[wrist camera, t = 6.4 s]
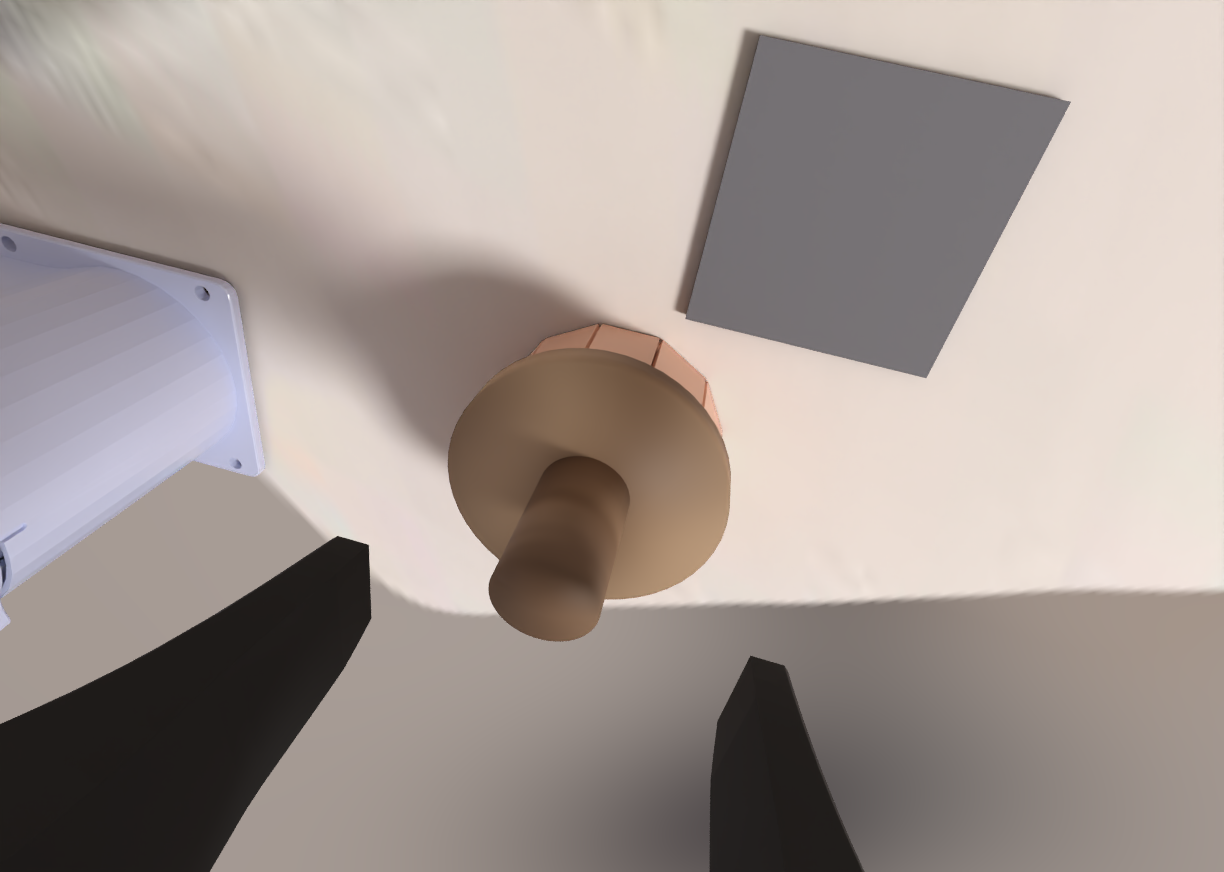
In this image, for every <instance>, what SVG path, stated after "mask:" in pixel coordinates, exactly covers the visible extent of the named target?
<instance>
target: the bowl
mask: <svg viewBox="0 0 1224 872" xmlns="http://www.w3.org/2000/svg"><path fill="white" fill-rule="evenodd" d="M659 339H660V338H657V337H653V336H649V335H645V334H641V333H637V332H633V331H629V330H625V329H621V328H617V327H613V326H609V325H605V324H602V325H601V327H599V324H596V325H592V326H589V327H585V328H581V329H578V330H574V331H570V332H567V333H563V334H559V335H556V336H552V337H549V338H546V339H545V340H544V341H543V340H542V341H541V343H540V344H539V345H538V346H537V347H536V348H535V349H534V351H533V352H532V353H531V354H530V355H534V354H537V353H541V352H545V351H549V350H556V349H564V348H590V349H598V350H606V351H610V352H614V353H618V354H622V355H626V356H629V357H632V358H634V359H637V360H639V361H642V362H645V363H647V364H649V365H651V366H652V367H654V368H656V369H658V370H660V371H662V372H664V373H665V374H667V375H668V376H670V377H671V378H672V379H674V380H675V381H677V382H678V383H680V384H681V385H682V386H683V387H684V388H685V389H686V390H688V391H689V392H690V393H691V394H692V395H693V396H694V397H695V398H696V399H697V400H698V401H699V403H700V404H701V405H702V406H703V407H704V408H705V409H706V411H707V412H708V414H709V415H710V417H711V418H712V420H713V421H714V423H715V424H716V426H717V428H718V430H719V432H720V434H721V437H722V428H721V425H720V421H719V418H718V414H717V411H716V408H715V404H714V401H713V398H712V394H711V391H710V387H709V384H708V382H705V380H706V378H705V377H704V376H702V375H701V374H700V373H699V372H698V371H697V370H696V369H695V368H694V367H693V366H691V365H690V364H689V363H688V362H687V361H686V360H685V359H684V358H683V357H681V356H680V355H679V354H678V353H677V352H676V351H675V350H674V349H673V348H672V347H670V346H669V345H668V344H667V343H666V342H665V341H664V340H663V341H662V342H659ZM530 355H529V356H530Z"/></svg>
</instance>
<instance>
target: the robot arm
mask: <svg viewBox="0 0 1224 872" xmlns="http://www.w3.org/2000/svg"><path fill="white" fill-rule="evenodd" d="M204 288H206V290H207V291H208V292H209V295H210V296H209V295H208V294H207V293H206V292H205V290H204ZM191 461H197V462H201V463H204V464H208V465H211V466H215V467H219V468H222V469H226V470H230V471H233V472H237V473H241V474H244V475H248V476H257V475H259V474H260V473H261V472H262V471H263V470H264V469H265V461H264V455H263V449H262V443H261V437H260V430H259V424H258V418H257V412H256V406H255V400H254V393H253V387H252V381H251V375H250V369H249V362H248V356H247V350H246V344H245V338H244V331H243V325H242V319H241V313H240V307H239V300H238V296H237V293H236V291H235V289H234V288H233V286H232V285H230V284H229V283H228V282H227V281H224V280H222V279H218V278H215V277H211V276H207V275H203V274H199V273H195V272H191V271H187V270H183V269H179V268H175V267H171V266H167V265H163V264H159V263H155V262H152V261H148V260H144V259H140V258H136V257H132V256H128V255H124V254H120V253H116V252H112V251H108V250H104V249H100V248H96V247H92V246H89V245H85V244H81V243H77V242H73V241H69V240H65V239H61V238H57V237H53V236H49V235H45V234H41V233H37V232H33V231H29V230H26V229H22V228H18V227H14V226H10V225H6V224H2V223H0V630H1V629H3V628H4V627H5V626H6V625H8V624H9V623H10V618H9V616H8V615H7V613H6V612H5V611H4V608H3V606H2V603H1V598H2V597H4V596H5V595H6V594H8V593H9V592H11V591H12V590H14V589H15V588H16V587H18V586H19V585H20V584H22V583H23V582H25V581H26V580H27V579H29V578H30V577H32V576H33V575H34V574H36V573H37V572H38V571H40V570H41V569H43V568H44V567H45V566H47V565H48V564H50V563H51V562H52V561H54V560H55V559H56V558H58V557H59V556H61V555H62V554H64V553H65V552H66V551H68V550H69V549H70V548H72V547H73V546H75V545H76V544H77V543H79V542H80V541H82V540H83V539H84V538H86V537H87V536H88V535H90V534H91V533H93V532H94V531H95V530H97V529H98V528H100V527H101V526H102V525H104V524H105V523H106V522H108V521H109V520H111V519H112V518H113V517H115V516H116V515H118V514H119V513H120V512H122V511H123V510H125V509H126V508H127V507H129V506H130V505H132V504H133V503H134V502H136V501H137V500H138V499H140V498H141V497H143V496H144V495H145V494H147V493H148V492H150V491H151V490H152V489H154V488H155V487H157V486H158V485H159V484H161V483H162V482H163V481H165V480H166V479H167V478H169V477H170V476H172V475H173V474H175V473H176V472H177V471H179V470H180V469H182V468H183V467H184V466H186V465H187V464H188V463H190V462H191ZM370 598H371V597H370V568H369V545H367V544H364V543H360V542H357V541H353V540H350V539H346V538H343V537H339V536H337V537H335V538H333V539H332V540H330V541H328V542H327V543H325V544H324V545H322V546H321V547H319V548H318V549H316V550H315V551H313V552H312V553H310V554H309V555H307V556H306V557H304V558H303V559H301V560H300V561H298V562H297V563H295V564H294V565H292V566H291V567H289V568H287V569H286V570H284V571H283V572H281V573H280V574H278V575H277V576H275V577H274V578H272V579H271V580H269V581H267V582H266V583H264V584H263V585H262V586H260V587H258V588H257V589H255V590H254V591H252V592H250V593H249V594H247V595H245V596H244V597H242V598H241V599H239V600H238V601H236V602H234V603H233V604H231V605H230V606H228V607H226V608H224V609H223V610H221V611H220V612H218V613H217V614H215V615H213V616H211V617H210V618H208V619H206V620H205V621H203V622H201V623H199V624H198V625H196V626H194V627H192V628H191V629H189V630H187V631H186V632H184V633H182V634H181V635H179V636H177V637H175V638H173V639H172V640H170V641H168V642H166V643H165V644H163V645H161V646H160V647H158V648H156V649H154V650H152V651H150V652H149V653H147V654H145V655H143V656H141V657H139V658H137V659H135V660H134V661H132V662H130V663H128V664H126V665H124V666H122V667H120V668H118V669H116V670H114V671H113V672H111V673H109V674H106V675H104V676H102V677H101V678H98V679H96V680H94V681H92V682H91V683H88V684H86V685H84V686H82V687H80V688H78V689H76V690H74V691H72V692H70V693H68V694H66V695H63V696H61V697H59V698H57V699H55V700H53V701H51V702H48V703H46V704H44V705H42V706H40V707H37V708H35V709H33V710H31V711H29V712H27V713H24V714H22V715H20V716H18V717H15V718H13V719H11V720H8V721H6V722H4V723H2V724H0V872H210V870H211V869H212V867H213V865H214V863H215V862H216V860H217V858H218V857H219V855H220V853H221V851H222V850H223V848H224V846H225V845H226V843H227V841H228V839H229V838H230V836H231V834H232V833H233V831H234V829H235V828H236V826H237V824H238V822H239V821H240V819H241V817H242V816H243V814H244V812H245V811H246V809H247V807H248V806H249V804H250V803H251V801H252V800H253V798H254V797H255V795H256V794H257V792H258V791H259V789H260V788H261V786H262V785H263V783H264V782H265V780H266V779H267V777H268V776H269V775H270V773H271V772H272V770H273V769H274V767H275V766H276V765H277V763H278V762H279V760H280V759H281V758H282V756H283V755H284V753H285V752H286V751H287V749H288V748H289V746H290V745H291V743H292V742H293V741H294V739H295V738H296V736H297V735H298V733H299V732H300V731H301V729H302V728H303V726H304V725H305V724H306V722H307V721H308V719H309V718H310V717H311V715H312V713H313V712H314V711H315V710H316V708H317V706H318V705H319V704H320V702H321V701H322V699H323V698H324V697H325V695H326V694H327V692H328V691H329V689H330V688H331V686H332V685H333V684H334V682H335V681H336V679H337V678H338V676H339V675H340V674H341V672H342V671H343V669H344V667H345V666H346V664H347V662H348V660H349V659H350V657H351V655H352V653H353V651H354V650H355V648H356V646H357V644H358V642H359V640H360V639H361V637H362V635H363V633H364V631H365V629H366V627H367V625H368V623H369V622H370V620H371V599H370ZM710 872H864V870H863V868H862V866H861V863H860V861H859V859H858V857H857V854H856V852H855V850H854V848H853V845H852V843H851V841H850V839H849V836H848V834H847V832H846V829H845V827H844V825H843V823H842V820H841V818H840V815H839V813H838V811H837V808H836V805H835V803H834V800H833V798H832V795H831V793H830V790H829V788H828V785H827V783H826V780H825V778H824V775H823V773H822V770H821V767H820V765H819V762H818V760H817V757H816V754H815V751H814V749H813V746H812V743H811V740H810V737H809V734H808V732H807V729H806V726H805V723H804V720H803V717H802V714H801V712H800V708H799V705H798V702H797V699H796V696H795V693H794V690H793V687H792V683H791V680H790V677H789V674H788V671H787V669H786V668H785V666H784V665H780V664H777V663H773V662H770V661H766V660H763V659H760V658H756V657H753V656H750V658H749V660H748V662H747V664H746V666H745V668H744V670H743V672H742V674H741V676H740V678H739V680H738V682H737V684H736V686H735V688H734V690H733V692H732V694H731V696H730V698H729V700H728V702H727V704H726V706H725V708H724V710H723V711H722V713H721V715H720V718H719V719H718V722H717V730H716V738H715V746H714V754H713V764H712V773H711V790H710Z"/></svg>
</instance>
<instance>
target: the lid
mask: <svg viewBox="0 0 1224 872" xmlns="http://www.w3.org/2000/svg"><path fill="white" fill-rule="evenodd" d="M448 472H449V481H450V485H451V489H452V493H453V496H454V499H455V501H456V504H457V506H458V509H459V511H460V513H461V514H462V516H463V518H464V520H465V521H466V523H467V525H468V526H469V527H470V529H471V530H472V532H473V533H474V534H475V536H476V537H477V538H478V539H479V540H480V541H481V543H482V544H483V545H484V546H485V547H486V548H487V549H488V550H489V551H490V552H491V553H492V554H494V555H495V556H496V557H497V558H498V559H499V562H498V564H497V566H496V568H495V570H494V572H493V574H492V576H491V578H490V582H489V596H490V600H491V602H492V605H493V606H494V608H495V610H496V611H497V612H498V614H499V615H500V616H501V617H502V618H503V619H504V620H505V621H506V622H507V623H508V624H510V625H511V626H512V627H514V628H515V629H517V630H519V631H520V632H522V633H525V634H527V635H529V636H532V637H535V638H538V639H542V640H547V641H570V640H574V639H577V638H580V637H582V636H584V635H586V634H587V633H589V632H590V631H591V630H592V629H593V628H594V627H595V626H596V624H597V623H598V620H599V618H600V614H601V610H602V606H603V603H604V599H627V598H636V597H641V596H645V595H650V594H654V593H657V592H659V591H662V590H665V589H668V588H670V587H672V586H674V585H676V584H678V583H680V582H682V581H683V580H685V579H686V578H688V577H689V576H691V575H692V574H694V573H695V572H696V571H697V570H698V569H699V568H700V567H701V566H702V565H704V564H705V562H706V561H707V560H708V559H709V557H710V556H711V555H712V554H713V553H714V551H715V549H716V548H717V546H718V544H719V542H720V541H721V539H722V536H723V533H724V531H725V528H726V525H727V520H728V515H729V509H730V483H731V471H730V464H729V457H728V454H727V451H726V447H725V444H724V441H723V439H722V437H721V434H720V432H719V430H718V428H717V426H716V424H715V423H714V421H713V420H712V418H711V417H710V415H709V414H708V412H707V411H706V409H705V408H704V407H703V406H702V405H701V404H700V403H699V401H698V400H697V399H696V398H695V397H694V396H693V395H692V394H691V393H690V392H689V391H688V390H686V389H685V388H684V387H683V386H682V385H681V384H680V383H678V382H677V381H675V380H674V379H672V378H671V377H670V376H668V375H667V374H665V373H664V372H662V371H660V370H658V369H656V368H654V367H652V366H651V365H649V364H647V363H645V362H642V361H639V360H637V359H634V358H632V357H629V356H626V355H622V354H618V353H614V352H610V351H606V350H598V349H590V348H564V349H556V350H549V351H545V352H541V353H537V354H534V355H530V356H528V357H526V358H523V359H521V360H519V361H516V362H514V363H513V364H511V365H509V366H508V367H506V368H504V369H503V370H501V371H500V372H499V373H498V374H496V375H495V376H494V377H493V378H492V379H490V380H489V381H488V382H487V384H486V385H485V386H484V387H483V388H482V389H481V391H480V392H479V393H478V394H477V395H476V397H475V398H474V399H473V400H472V402H471V403H470V404H469V405H468V407H467V408H466V409H465V410H464V412H463V414H462V415H461V417H460V419H459V420H458V422H457V424H456V427H455V429H454V432H453V434H452V437H451V442H450V447H449V452H448Z"/></svg>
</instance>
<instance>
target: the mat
mask: <svg viewBox="0 0 1224 872" xmlns="http://www.w3.org/2000/svg"><path fill="white" fill-rule="evenodd" d="M1070 103H1071V102H1069V101H1064V100H1060V99H1055V98H1050V97H1046V96H1041V95H1036V94H1032V93H1027V92H1022V91H1018V90H1013V89H1008V88H1004V87H999V86H995V85H990V84H985V83H981V82H976V81H971V80H967V79H962V78H957V77H953V76H948V75H943V74H939V73H934V72H929V71H925V70H920V69H915V68H911V67H906V66H901V65H897V64H892V63H888V62H883V61H878V60H874V59H869V58H864V57H860V56H855V55H850V54H846V53H841V52H836V51H832V50H827V49H822V48H818V47H813V46H808V45H804V44H799V43H795V42H790V41H785V40H781V39H776V38H771V37H767V36H762V35H760V37H759V41H758V45H757V49H756V53H755V56H754V60H753V64H752V68H751V72H750V75H749V79H748V83H747V87H746V90H745V94H744V98H743V102H742V106H741V109H740V113H739V117H738V121H737V125H736V128H735V132H734V136H733V140H732V144H731V147H730V151H729V155H728V159H727V163H726V166H725V170H724V174H723V178H722V182H721V185H720V189H719V193H718V197H717V201H716V204H715V208H714V212H713V216H712V219H711V223H710V227H709V231H708V235H707V238H706V242H705V246H704V250H703V254H702V257H701V261H700V265H699V269H698V273H697V276H696V280H695V284H694V288H693V292H692V295H691V299H690V303H689V307H688V311H687V314H686V318H685V319H688V320H692V321H696V322H700V323H704V324H708V325H712V326H717V327H721V328H725V329H729V330H733V331H737V332H741V333H745V334H749V335H753V336H757V337H761V338H765V339H769V340H773V341H778V342H782V343H786V344H790V345H794V346H798V347H802V348H806V349H810V350H814V351H818V352H822V353H826V354H830V355H834V356H839V357H843V358H847V359H851V360H855V361H859V362H863V363H867V364H871V365H875V366H879V367H883V368H887V369H891V370H895V371H900V372H904V373H908V374H912V375H916V376H920V377H924V378H926V377H927V376H928V374H929V372H930V370H931V368H932V366H933V364H934V362H935V360H936V358H937V356H938V355H939V353H940V351H941V349H942V347H943V345H944V343H945V341H946V339H947V337H948V335H949V334H950V332H951V330H952V328H953V326H954V324H955V322H956V320H957V318H958V316H959V314H960V313H961V311H962V309H963V307H964V305H965V303H966V301H967V299H968V297H969V295H970V293H971V292H972V290H973V288H974V286H975V284H976V282H977V280H978V278H979V276H980V274H981V272H982V271H983V269H984V267H985V265H986V263H987V261H988V259H989V257H990V255H991V253H992V251H993V250H994V248H995V246H996V244H997V242H998V240H999V238H1000V236H1001V234H1002V232H1003V230H1004V229H1005V227H1006V225H1007V223H1008V221H1009V219H1010V217H1011V215H1012V213H1013V211H1014V210H1015V208H1016V206H1017V204H1018V202H1019V200H1020V198H1021V196H1022V194H1023V192H1024V190H1025V189H1026V187H1027V185H1028V183H1029V181H1030V179H1031V177H1032V175H1033V173H1034V171H1035V169H1036V168H1037V166H1038V164H1039V162H1040V160H1041V158H1042V156H1043V154H1044V152H1045V150H1046V148H1047V147H1048V145H1049V143H1050V141H1051V139H1052V137H1053V135H1054V133H1055V131H1056V129H1057V127H1058V126H1059V124H1060V122H1061V120H1062V118H1063V116H1064V114H1065V112H1066V110H1067V108H1068V106H1069V105H1070Z"/></svg>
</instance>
